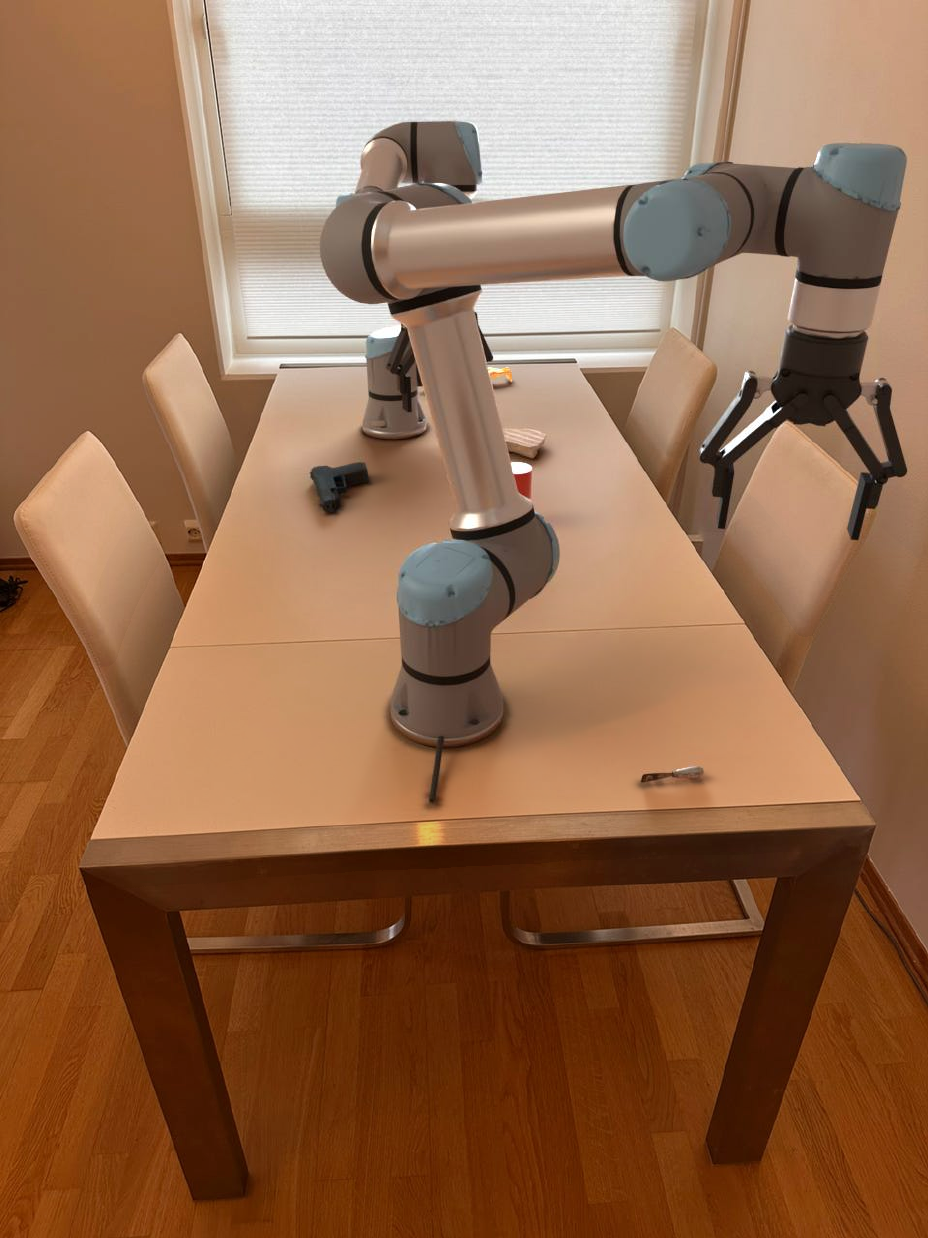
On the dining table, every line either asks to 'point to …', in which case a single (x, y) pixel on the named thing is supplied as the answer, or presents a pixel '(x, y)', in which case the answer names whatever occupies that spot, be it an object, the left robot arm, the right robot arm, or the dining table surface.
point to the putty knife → (674, 774)
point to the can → (523, 478)
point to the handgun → (336, 482)
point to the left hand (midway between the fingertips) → (441, 405)
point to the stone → (524, 441)
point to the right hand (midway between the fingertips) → (785, 529)
